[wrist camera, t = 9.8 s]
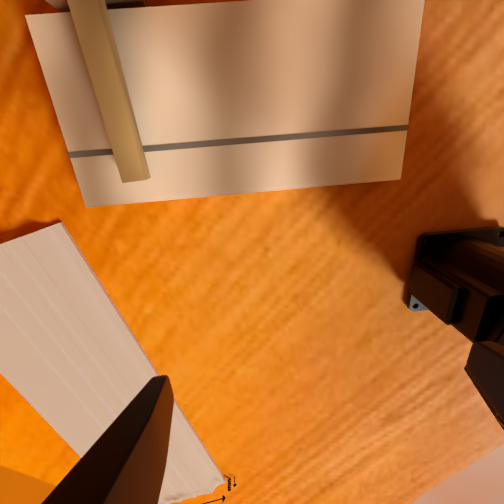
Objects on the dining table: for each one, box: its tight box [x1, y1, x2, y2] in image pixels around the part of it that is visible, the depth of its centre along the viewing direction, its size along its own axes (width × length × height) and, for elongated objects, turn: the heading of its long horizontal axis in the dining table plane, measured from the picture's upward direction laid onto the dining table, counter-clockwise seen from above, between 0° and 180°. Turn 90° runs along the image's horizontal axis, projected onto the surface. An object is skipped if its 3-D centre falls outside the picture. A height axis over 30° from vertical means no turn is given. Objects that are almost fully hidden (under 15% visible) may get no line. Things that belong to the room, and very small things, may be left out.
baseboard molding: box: [0, 222, 236, 504], centre depth 23 cm, size 31×3×12 cm
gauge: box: [45, 0, 151, 183], centre depth 12 cm, size 4×13×6 cm, turn 7°
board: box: [25, 0, 425, 207], centre depth 15 cm, size 19×9×2 cm, turn 94°
